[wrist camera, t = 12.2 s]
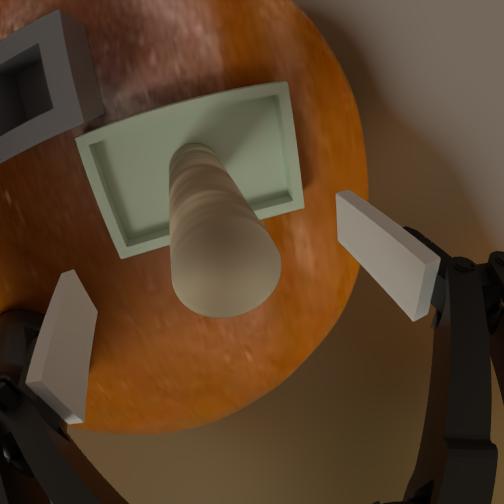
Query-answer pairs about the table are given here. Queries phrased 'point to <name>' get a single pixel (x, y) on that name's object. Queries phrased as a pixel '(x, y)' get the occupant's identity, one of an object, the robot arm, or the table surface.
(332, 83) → the table surface
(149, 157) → the tray
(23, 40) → the square block with hole
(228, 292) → the dowel
